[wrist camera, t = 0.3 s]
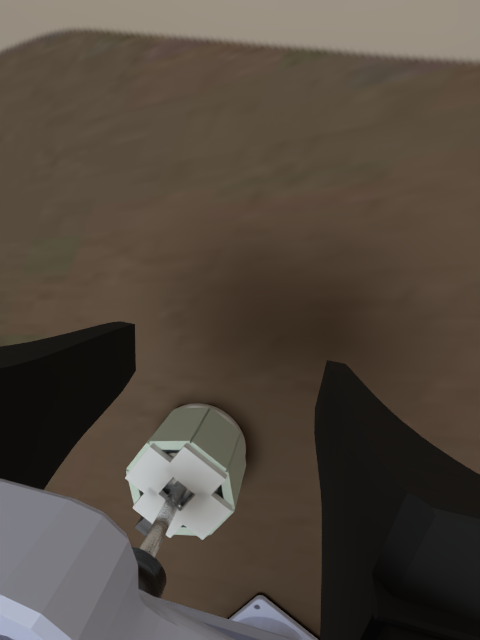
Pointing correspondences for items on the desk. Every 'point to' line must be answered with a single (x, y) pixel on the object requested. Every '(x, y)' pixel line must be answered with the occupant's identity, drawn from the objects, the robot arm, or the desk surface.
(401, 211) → the desk surface
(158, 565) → the plunger
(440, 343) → the desk surface
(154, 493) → the faceted mint canister
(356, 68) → the desk surface
